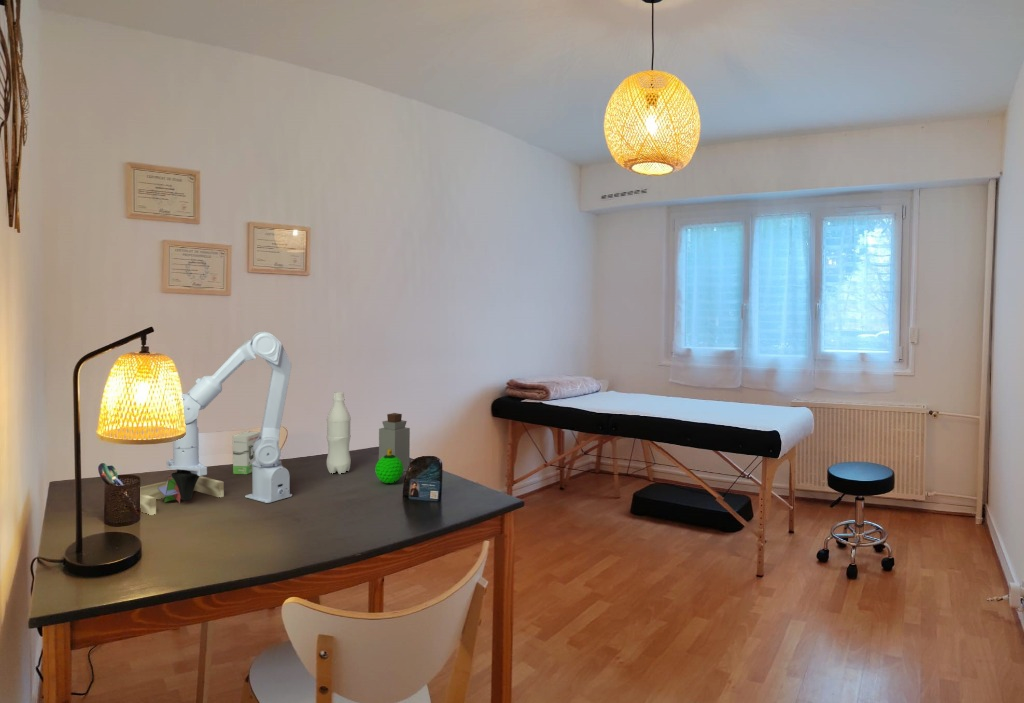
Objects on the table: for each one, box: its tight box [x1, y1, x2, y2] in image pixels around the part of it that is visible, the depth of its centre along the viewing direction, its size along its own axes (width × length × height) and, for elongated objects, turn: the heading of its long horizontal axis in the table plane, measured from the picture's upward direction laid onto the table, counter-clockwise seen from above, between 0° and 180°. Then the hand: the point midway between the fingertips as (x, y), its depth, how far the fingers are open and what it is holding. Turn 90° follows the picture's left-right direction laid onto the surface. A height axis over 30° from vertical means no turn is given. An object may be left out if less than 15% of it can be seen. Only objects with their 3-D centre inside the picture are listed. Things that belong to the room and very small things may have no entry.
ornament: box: [374, 449, 404, 484], centre depth 184 cm, size 8×8×10 cm
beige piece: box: [139, 475, 225, 516], centre depth 163 cm, size 13×19×4 cm, turn 148°
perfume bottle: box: [378, 412, 411, 470], centre depth 199 cm, size 7×7×18 cm
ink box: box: [232, 430, 260, 475], centre depth 195 cm, size 9×5×12 cm, turn 173°
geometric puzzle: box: [157, 475, 182, 504], centre depth 163 cm, size 7×7×8 cm
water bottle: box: [326, 391, 352, 475], centre depth 195 cm, size 7×7×25 cm
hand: (186, 499), depth 160 cm, fingers closed
